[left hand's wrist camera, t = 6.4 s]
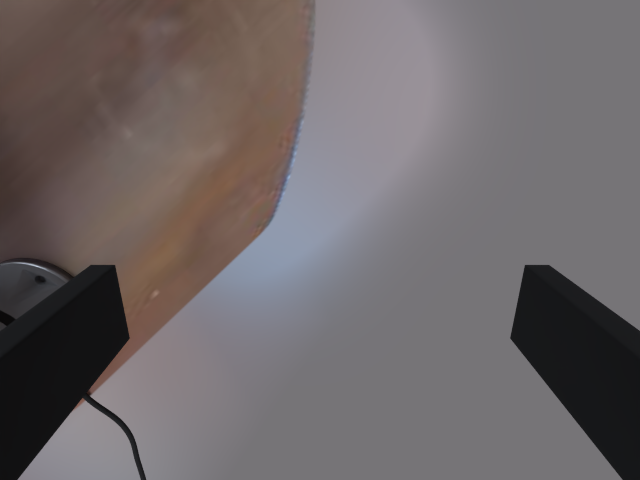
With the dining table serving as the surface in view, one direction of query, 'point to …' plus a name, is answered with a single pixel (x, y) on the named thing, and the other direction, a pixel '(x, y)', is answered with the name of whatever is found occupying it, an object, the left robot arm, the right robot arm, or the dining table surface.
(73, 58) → the dining table surface
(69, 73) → the dining table surface
